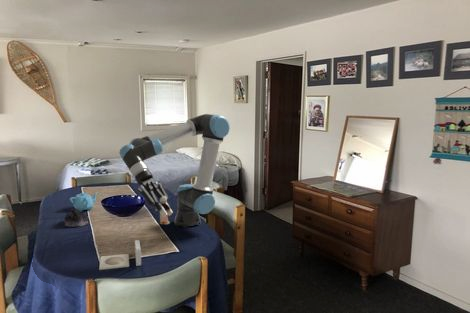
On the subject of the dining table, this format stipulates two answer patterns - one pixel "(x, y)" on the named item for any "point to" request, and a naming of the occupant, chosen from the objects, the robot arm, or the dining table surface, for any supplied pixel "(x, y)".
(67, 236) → the dining table surface
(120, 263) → the resting pad
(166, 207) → the grandmother figurine
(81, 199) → the teapot
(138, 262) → the low wall
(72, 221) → the crystal cluster
